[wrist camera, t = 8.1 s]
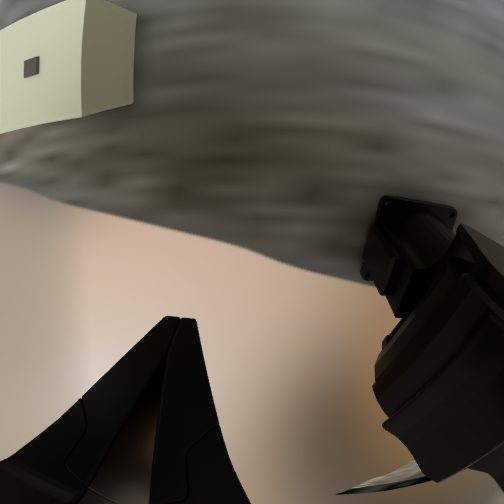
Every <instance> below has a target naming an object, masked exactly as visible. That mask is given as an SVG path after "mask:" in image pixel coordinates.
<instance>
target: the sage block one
mask: <svg viewBox="0 0 504 504" xmlns="http://www.w3.org/2000/svg"><path fill="white" fill-rule="evenodd" d="M136 19H137V14H136V13H134V12H132V11H129V10H127V9H125V8H123V7H120V6H118V5H115V4H113V3H111V2H108V1H106V0H66V1H64V2H61V3H58V4H56V5H53V6H51V7H48V8H46V9H43V10H41V11H39V12H36V13H34V14H32V15H30V16H28V17H26V18H23V19H21V20H19V21H17V22H15V23H13V24H11V25H10V26H8V27H6V28H4V29H2V30H0V134H1V133H4V132H8V131H12V130H16V129H21V128H25V127H30V126H34V125H39V124H44V123H49V122H55V121H60V120H66V119H73V118H79V117H84V116H87V115H91V114H94V113H98V112H102V111H105V110H109V109H113V108H117V107H121V106H126V105H130V104H133V75H134V48H135V31H136Z"/></svg>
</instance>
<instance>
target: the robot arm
mask: <svg viewBox="0 0 504 504" xmlns="http://www.w3.org/2000/svg"><path fill="white" fill-rule="evenodd" d="M389 201H390V204H389V205H388V206H385V204H386V202H389ZM451 212H452V214H451V215H450V216H449V214H450V213H451ZM456 217H457V211H456V210H455V209H454V208H453V207H451V206H446V205H441V204H435V203H430V202H424V201H418V200H412V199H406V198H400V197H394V196H384V197H382V198H381V200H380V203H379V207H378V211H377V215H376V219H375V223H374V225H372V226H371V228H370V232H369V235H368V239H367V243H366V246H365V250H364V254H363V260H364V262H363V266H362V269H361V276H362V278H363V279H364V280H366V281H374V283H375V286H376V288H377V290H378V292H379V294H380V295H381V296H386V298H387V300H388V302H389V305H390V306H391V309H392V311H393V313H394V316H395V317H396V318H402V319H401V320H400V322H399V323H398V324H397V326H396V327H395V328H394V329H393V331H392V332H391V333H390V335H387V336H386V337H385V339H384V340H383V341H382V351H381V352H380V354H379V355H378V358H377V360H376V363H375V383H374V384H373V391H374V394H375V396H376V399H377V401H378V403H379V405H380V406H381V408H382V410H383V411H384V413H385V414H386V415H387V416H388V417H389V418H388V419H387V420H386V421H384V422H383V424H382V427H383V428H384V429H385V430H387V431H388V432H390V433H391V434H393V435H394V436H396V437H397V438H398V439H399V440H400V441H401V442H402V443H403V444H404V445H405V446H406V447H407V448H408V450H409V451H410V453H411V454H412V455H413V457H414V459H415V461H416V462H417V464H418V466H419V468H420V469H421V471H422V473H423V474H424V475H426V476H427V477H429V478H430V479H432V480H433V481H435V482H437V483H438V482H442V481H443V480H446V479H447V478H449V477H451V476H453V475H455V474H457V473H458V472H460V471H462V470H464V469H465V468H468V469H472V470H476V471H481V472H485V473H487V474H488V475H489V476H490V477H491V478H492V479H493V480H494V481H495V483H496V484H497V485H498V487H499V488H500V489H501V491H502V492H503V494H504V247H503V246H501V245H500V244H498V243H496V242H495V241H493V240H491V239H489V238H488V237H486V236H484V235H482V234H481V233H479V232H477V231H475V230H473V229H472V228H470V227H468V226H466V225H464V224H462V223H460V225H459V226H458V228H457V230H456V233H457V234H456V235H455V234H454V232H453V231H452V229H453V226H454V223H455V220H456ZM367 272H369V274H367V275H365V274H366V273H367ZM0 504H251V503H250V501H249V499H248V497H247V495H246V493H245V491H244V489H243V487H242V485H241V483H240V481H239V479H238V477H237V474H236V472H235V470H234V468H233V465H232V463H231V460H230V458H229V455H228V452H227V449H226V445H225V442H224V439H223V436H222V432H221V428H220V426H219V421H218V416H217V412H216V408H215V404H214V400H213V396H212V392H211V387H210V383H209V379H208V374H207V370H206V365H205V361H204V356H203V351H202V346H201V342H200V336H199V331H198V327H197V322H196V319H191V318H181V319H180V318H179V317H173V316H165V317H164V318H163V319H162V320H161V321H160V322H159V323H157V324H156V325H155V326H154V327H153V328H152V329H151V330H150V331H149V332H148V333H147V334H146V335H145V336H144V337H143V338H142V339H141V340H140V341H139V342H138V343H137V344H136V345H134V346H133V347H132V349H130V350H129V351H128V352H127V353H126V354H125V355H124V356H123V357H122V358H121V359H120V360H119V361H118V362H117V363H116V364H115V365H114V366H113V367H112V368H111V369H110V370H109V371H108V372H107V373H106V374H104V376H102V377H101V378H100V379H99V380H98V381H97V382H96V383H95V384H94V385H93V386H92V387H91V388H90V389H89V390H88V391H87V392H86V393H85V394H84V395H83V396H82V399H81V398H80V399H79V400H78V401H77V402H76V403H75V404H74V405H73V406H72V407H71V408H70V409H68V410H67V411H66V412H65V413H64V414H63V415H62V416H61V417H60V418H59V419H58V420H56V421H55V422H54V423H53V424H52V425H50V426H49V427H48V428H47V429H46V430H44V431H43V432H42V433H41V434H39V435H38V436H37V437H35V438H34V439H33V440H31V441H30V442H29V443H27V444H26V445H25V446H24V447H22V448H21V449H20V450H18V451H17V452H16V453H14V454H13V455H12V456H10V457H9V458H7V459H4V460H2V461H0Z"/></svg>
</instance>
